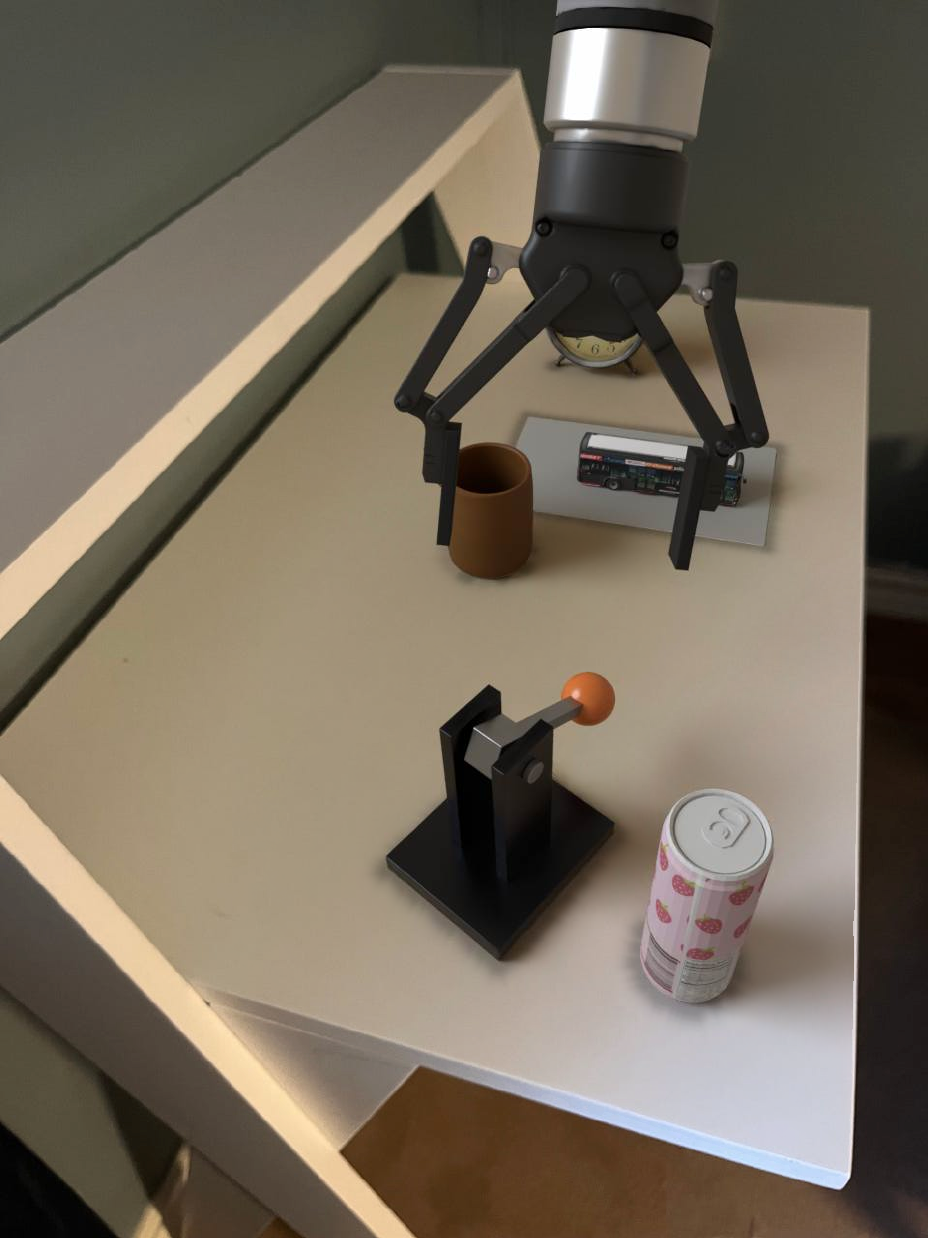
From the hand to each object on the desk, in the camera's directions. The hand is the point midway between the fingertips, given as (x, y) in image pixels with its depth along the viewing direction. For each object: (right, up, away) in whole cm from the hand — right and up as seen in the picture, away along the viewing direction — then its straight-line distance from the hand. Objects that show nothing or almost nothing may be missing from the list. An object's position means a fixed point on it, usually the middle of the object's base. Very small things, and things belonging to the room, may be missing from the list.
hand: (560, 551), depth 56 cm
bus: (+11, +10, +37) cm, 40 cm away
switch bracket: (-3, -20, +10) cm, 22 cm away
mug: (-5, +3, +32) cm, 32 cm away
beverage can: (+8, -25, +4) cm, 27 cm away
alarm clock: (+9, +24, +50) cm, 57 cm away
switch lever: (-1, -12, +6) cm, 13 cm away
